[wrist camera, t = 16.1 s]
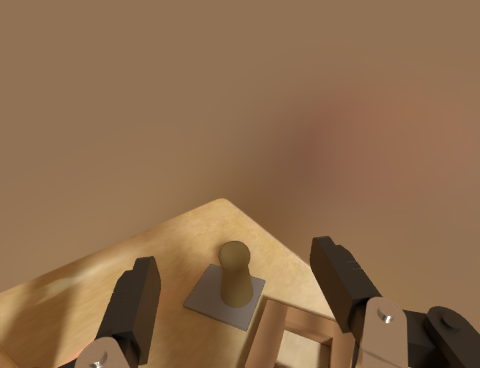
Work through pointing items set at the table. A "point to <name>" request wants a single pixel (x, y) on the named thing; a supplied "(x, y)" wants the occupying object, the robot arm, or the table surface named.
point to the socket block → (300, 323)
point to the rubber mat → (211, 304)
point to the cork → (235, 274)
